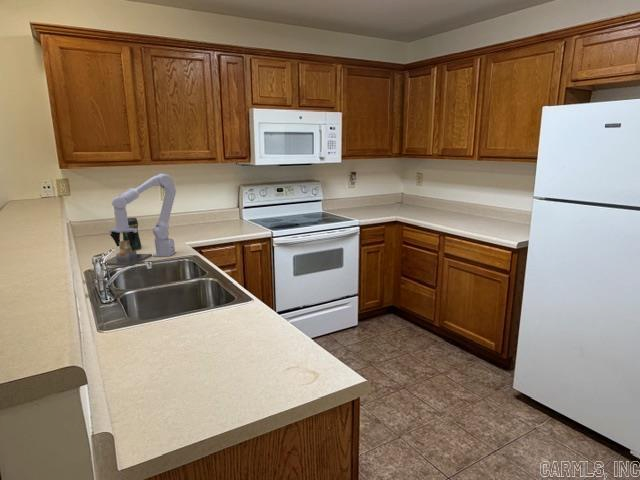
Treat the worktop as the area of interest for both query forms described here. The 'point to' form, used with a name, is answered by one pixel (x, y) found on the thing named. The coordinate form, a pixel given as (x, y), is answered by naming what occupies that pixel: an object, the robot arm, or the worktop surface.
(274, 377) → the worktop surface
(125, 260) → the jack base
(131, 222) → the coffee jar
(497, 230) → the worktop surface
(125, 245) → the column
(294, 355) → the worktop surface
